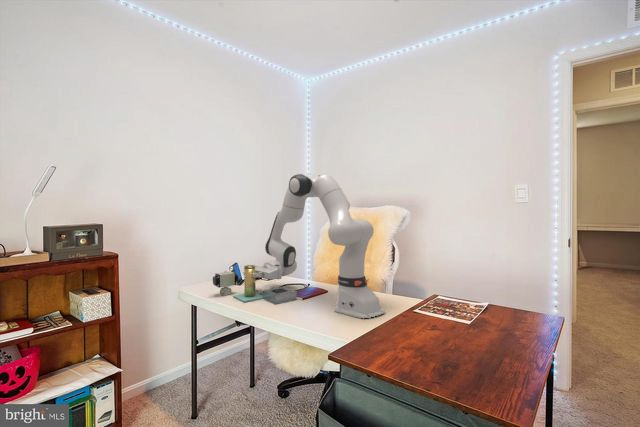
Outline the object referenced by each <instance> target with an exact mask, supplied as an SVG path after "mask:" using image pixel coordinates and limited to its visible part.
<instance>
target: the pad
mask: <svg viewBox="0 0 640 427" xmlns="http://www.w3.org/2000/svg"><path fill="white" fill-rule="evenodd" d="M232 297H233V298H234V299H236V300H237V301H240V302H242V303H244V304H245V303H250V302H255V301H260V300H264V299H263V297H262V293H260V292H257V291H256V295H254V296H245V292H243V293H240V294H235V295H232Z"/></svg>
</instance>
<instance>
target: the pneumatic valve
mask: <svg viewBox="0 0 640 427" xmlns="http://www.w3.org/2000/svg"><path fill="white" fill-rule="evenodd" d="M238 282H239V275H238V273H236V272H234V271H227V270H225V271H223V272H219V273H218V272H217V273H214V276H213V277H212V284H213V286H215V287H217V288H218V289H219V288H220V289H219V294H220V295H222V296H223V297H224V296H230V295H231V293H232V288H230V287H232V286H236V285H237V283H238Z"/></svg>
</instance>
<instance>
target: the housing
mask: <svg viewBox="0 0 640 427" xmlns="http://www.w3.org/2000/svg"><path fill="white" fill-rule="evenodd" d="M261 294H262V297H263V299H262V300H265V301H267V302H268V303H271V304H273V305H280V304H283V303H288V302H293V301H297V300H298V291H297V290H294V289H291V288H289V287H286V286H280V287H273V288H268V289H267V288H266V289H262V291H261Z"/></svg>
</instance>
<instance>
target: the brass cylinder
mask: <svg viewBox="0 0 640 427" xmlns="http://www.w3.org/2000/svg"><path fill="white" fill-rule="evenodd" d="M255 266H256V265H254V264H250V265H249V264H247V265H244V266H243V267H244V270H243V272H244V275H243V276H244V281H243V283H244V293H245V296H254V295H256V292H257V291H256V277H255V278H253V277H252V274H253V273H255Z"/></svg>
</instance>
